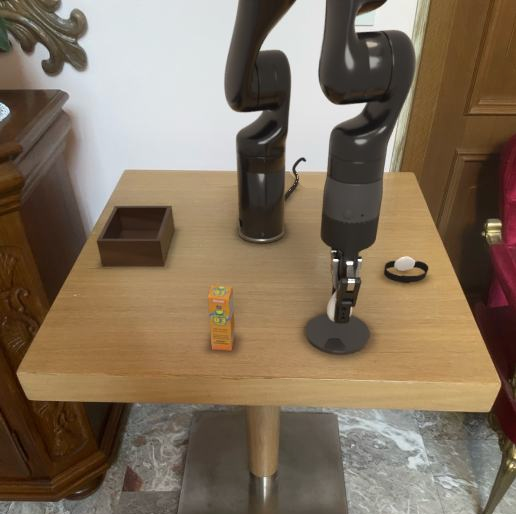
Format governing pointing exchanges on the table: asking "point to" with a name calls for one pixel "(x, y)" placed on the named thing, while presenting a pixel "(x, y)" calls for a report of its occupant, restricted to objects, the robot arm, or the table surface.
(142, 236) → the crate
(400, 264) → the watch
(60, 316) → the table surface
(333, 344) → the coaster
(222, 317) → the supplement box
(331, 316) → the egg
